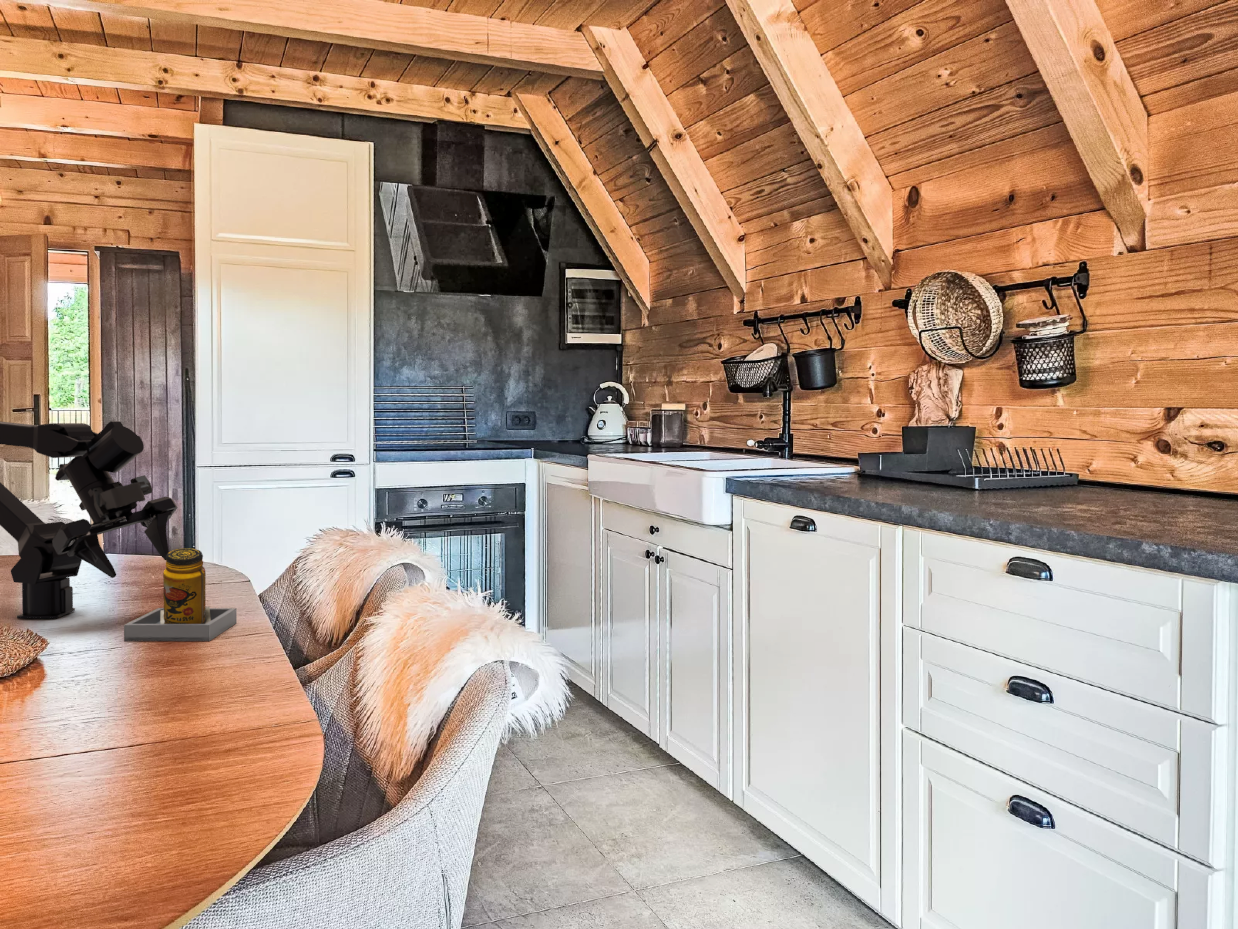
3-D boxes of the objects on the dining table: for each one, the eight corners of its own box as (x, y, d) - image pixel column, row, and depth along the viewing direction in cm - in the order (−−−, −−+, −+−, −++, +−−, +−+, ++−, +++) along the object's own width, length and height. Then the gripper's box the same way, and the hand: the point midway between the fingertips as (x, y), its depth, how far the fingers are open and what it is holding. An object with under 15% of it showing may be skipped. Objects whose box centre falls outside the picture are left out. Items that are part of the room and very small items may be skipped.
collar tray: (124, 641, 142) (123, 625, 142) (158, 622, 154) (158, 608, 154) (209, 641, 143) (209, 625, 143) (236, 623, 155) (236, 608, 155)
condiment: (160, 634, 144) (159, 562, 141) (160, 611, 151) (159, 542, 148) (211, 630, 147) (212, 560, 144) (209, 607, 155) (209, 540, 152)
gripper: (54, 476, 142) (102, 562, 140) (166, 451, 158) (212, 528, 156) (31, 512, 148) (78, 595, 147) (142, 484, 164) (185, 558, 162)
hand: (141, 567), depth 152 cm, fingers open, 9 cm apart
